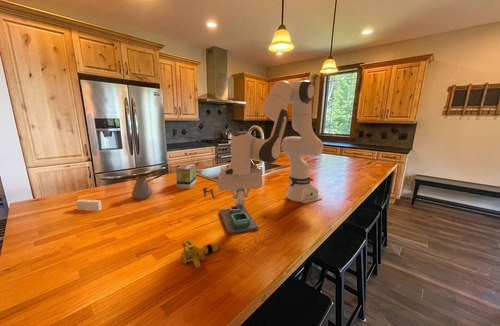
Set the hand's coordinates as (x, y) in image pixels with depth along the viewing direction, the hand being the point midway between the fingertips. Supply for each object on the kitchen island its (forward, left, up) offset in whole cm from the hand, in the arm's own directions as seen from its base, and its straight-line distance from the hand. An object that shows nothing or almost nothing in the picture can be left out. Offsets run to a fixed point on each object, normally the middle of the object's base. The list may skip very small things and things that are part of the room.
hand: (240, 197), depth 93 cm
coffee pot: (+44, -50, -14) cm, 68 cm away
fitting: (0, 0, -5) cm, 5 cm away
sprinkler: (+20, +15, -15) cm, 29 cm away
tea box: (+22, -66, -14) cm, 71 cm away
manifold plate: (0, -5, -14) cm, 15 cm away
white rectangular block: (+73, -40, -15) cm, 84 cm away
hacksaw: (+7, -43, -15) cm, 46 cm away
